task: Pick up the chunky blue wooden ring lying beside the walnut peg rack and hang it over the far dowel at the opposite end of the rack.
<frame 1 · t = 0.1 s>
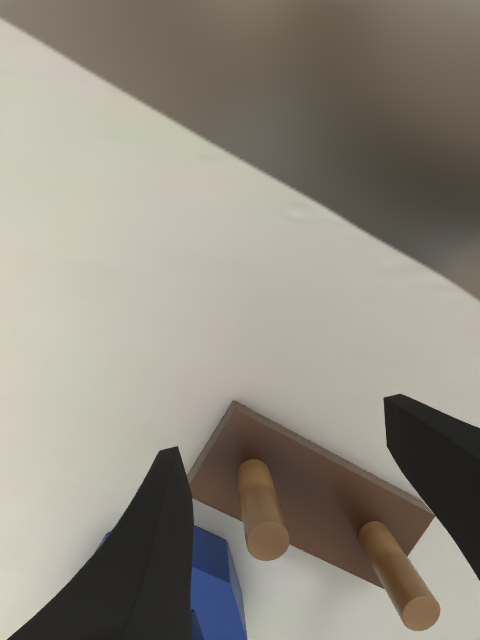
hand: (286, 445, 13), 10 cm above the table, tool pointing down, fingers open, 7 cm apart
ring: (161, 588, 25), on the table
rack: (308, 490, 25), on the table
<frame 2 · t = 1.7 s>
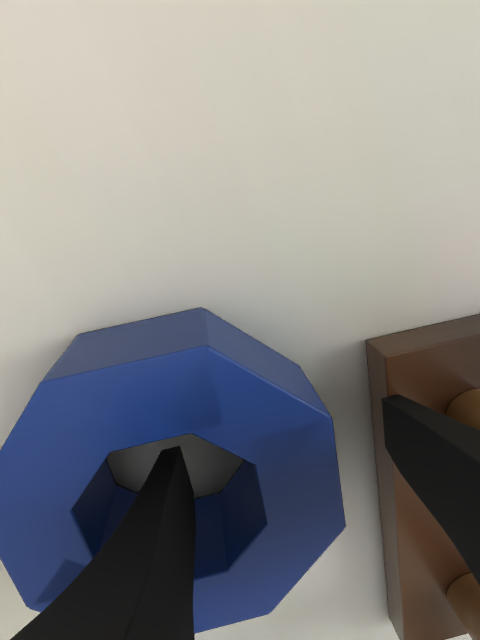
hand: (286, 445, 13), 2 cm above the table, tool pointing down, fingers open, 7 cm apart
ring: (177, 444, 14), on the table
rack: (445, 482, 17), on the table
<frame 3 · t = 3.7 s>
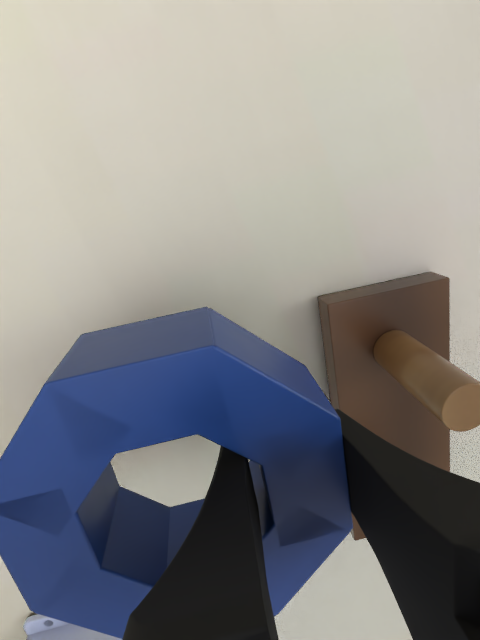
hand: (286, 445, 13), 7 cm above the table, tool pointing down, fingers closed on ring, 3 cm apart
ring: (181, 445, 14), point 6 cm above the table, touching gripper
rack: (383, 409, 22), on the table
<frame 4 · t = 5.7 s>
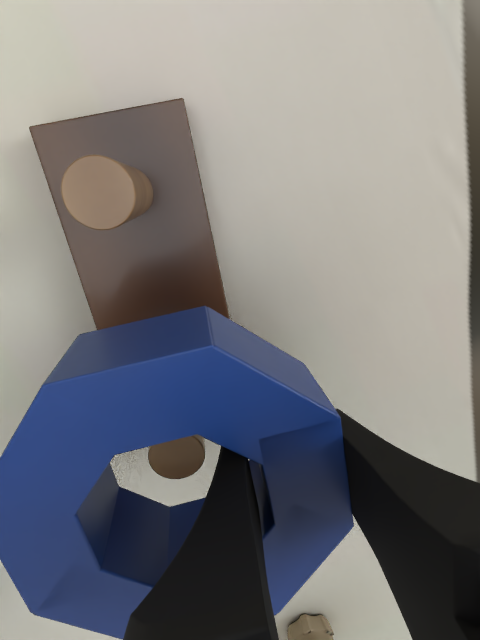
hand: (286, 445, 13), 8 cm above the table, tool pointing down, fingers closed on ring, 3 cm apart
handle: (306, 623, 28), on the table
ring: (181, 444, 14), point 6 cm above the table, touching gripper
rack: (159, 288, 19), on the table
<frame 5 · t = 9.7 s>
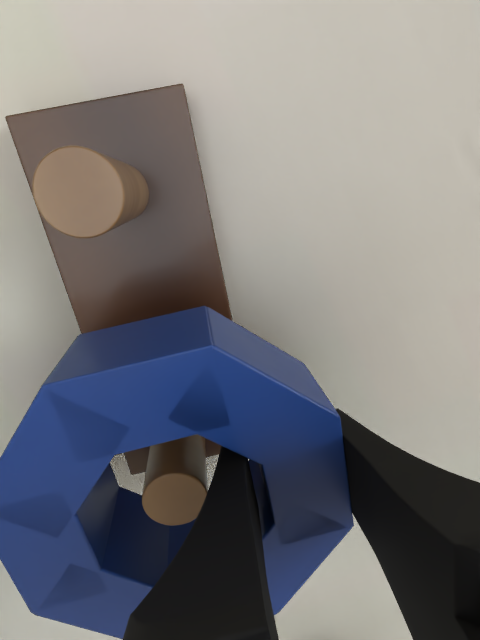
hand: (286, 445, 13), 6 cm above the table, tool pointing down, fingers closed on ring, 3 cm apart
ring: (181, 444, 14), point 4 cm above the table, touching gripper
rack: (156, 299, 17), on the table
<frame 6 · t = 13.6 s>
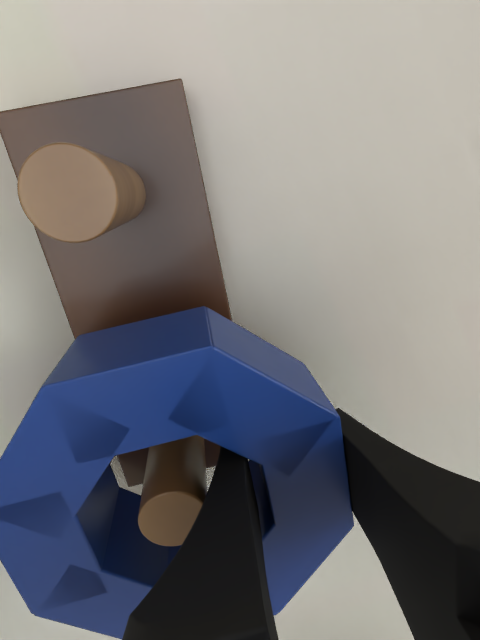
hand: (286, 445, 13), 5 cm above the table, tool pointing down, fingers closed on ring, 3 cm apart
ring: (181, 445, 14), point 4 cm above the table, touching gripper
rack: (154, 304, 16), on the table
when the fingers open (8 cm above the table, at t = 17.2 s): ring drops 5 cm, resting on rack.
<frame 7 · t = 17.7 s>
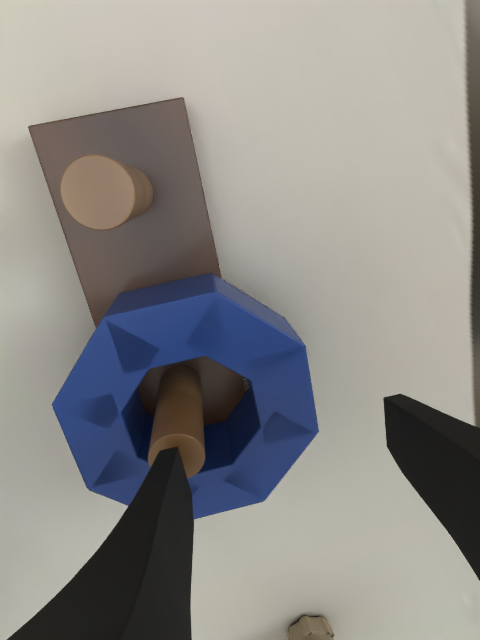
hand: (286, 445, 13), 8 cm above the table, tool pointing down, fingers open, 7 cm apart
handle: (307, 625, 28), on the table
ring: (192, 380, 19), point 1 cm above the table, touching rack
rack: (159, 288, 19), on the table
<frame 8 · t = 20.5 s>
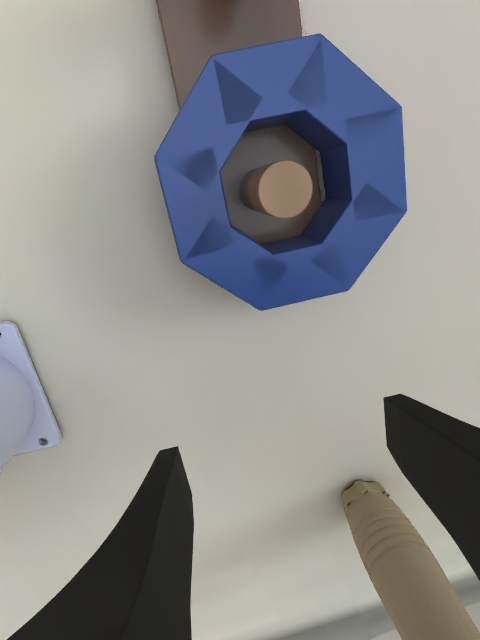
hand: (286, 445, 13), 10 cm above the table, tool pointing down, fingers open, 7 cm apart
handle: (359, 492, 28), on the table
ring: (271, 186, 19), point 1 cm above the table, touching rack
rack: (238, 94, 19), on the table
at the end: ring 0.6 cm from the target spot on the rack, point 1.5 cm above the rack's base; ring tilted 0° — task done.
